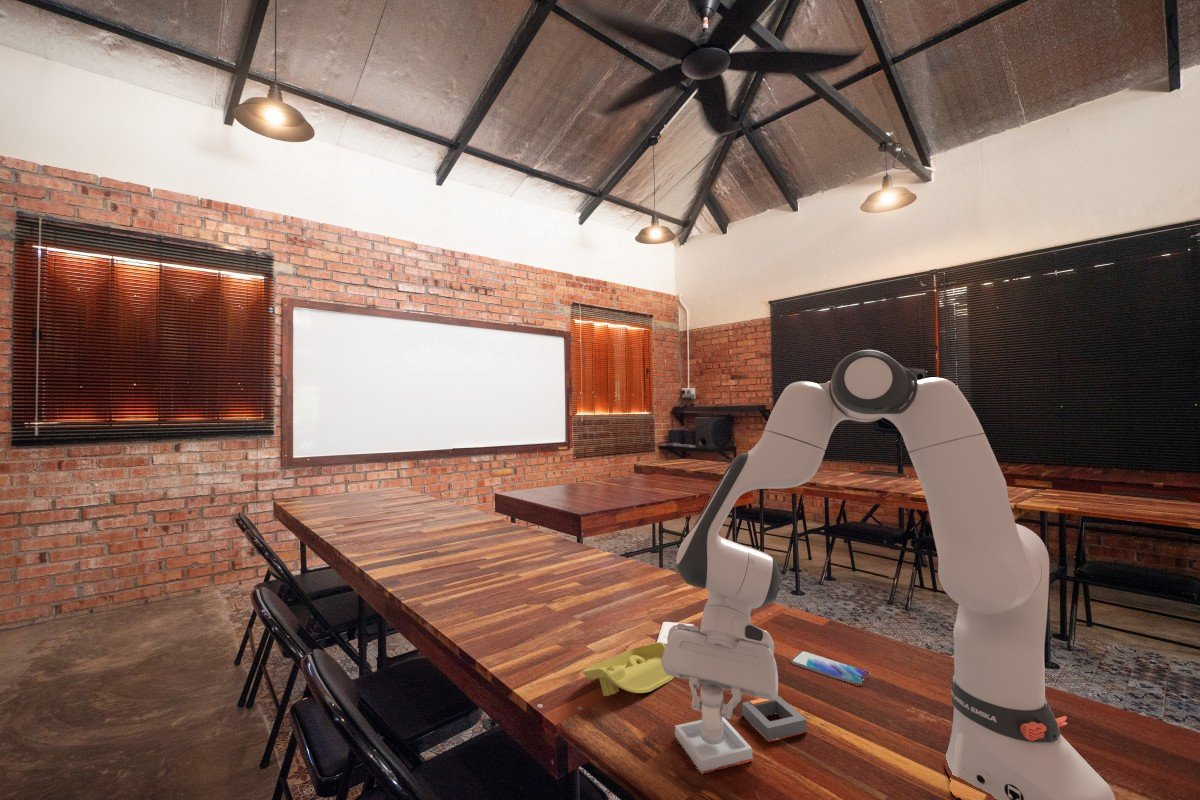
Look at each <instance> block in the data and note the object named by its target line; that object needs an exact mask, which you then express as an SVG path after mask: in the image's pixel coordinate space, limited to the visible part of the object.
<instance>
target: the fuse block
mask: <svg viewBox="0 0 1200 800" xmlns="http://www.w3.org/2000/svg"><path fill="white" fill-rule="evenodd" d="M775 713H777V714H778V715H779V716H780V717H781V718H783V719H781V718H780V717H779V716H778V715H777V714H775ZM771 714H775V715H777V716H778V717H779V719H775V720H771V721H770V720H769V719H768V718H767V716H766V717H765V715H770V716H772V715H771ZM742 715H743V716H744V717H745V718H746V719H747V720H748V721H749V722H750V723H751V724H752V725H753V726H754V727H755V728H757V729H758V730H759V731H760V732H761V733H762V734H763V735H764V736H765V737H766V739H767V740H771V739H776V738H781V737H784V736H788V735H793V734H796V733H800V732H804V731H808V729H807V728H808V726H807V724H808V723H807V718H806V717H805V716H803V715H802V714H801V713H799V711H798V710H796V709H795V708H794V707H793V706H792V705H791V704H789V703H788V702H787V701H785V700H784V699H783V698H782V697H781V696H780V695H777V697H776V698H775V699H773V700H768V699H764V698H758V699H753V700H749V701H744V702H741V716H742Z"/></svg>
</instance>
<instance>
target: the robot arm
mask: <svg viewBox="0 0 1200 800" xmlns="http://www.w3.org/2000/svg"><path fill="white" fill-rule="evenodd" d="M882 419H886V420H888V421H890V422H891V423H892V424H893V425H894V426H895V427H896V429H898V432H899V433H900V434H901V436H902V438H903V442H904V445H905V447H906V450H907V452H908V455H909V458H910V460H911V463H912V466H913V468H914V470H915V473H916V476H917V478H918V481H919V484H920V486H921V489H922V491H923V495H924V497H925V502H926V505H927V508H928V513H929V519H930V524H931V530H932V536H933V540H934V545H935V548H936V553H937V560H938V564H937V565H938V566H937V575H938V579H939V582H940V586H941V587H942V589H943V591H944V592H945V593H946V594H947V595H948V597H949V598H951V600H952V601H953V602H955V603H956V604H957V605H958V607H957V613H956V614H957V615H956V617H955V618H956V619H955V622H954V626H953V669H954V671H953V675H952V677H951V683H950V684H951V685H950V692H951V694H950V697H951V698H950V699H951V703H952V706H953V716H952V727H951V728H952V729H951V733H950V739H949V744H948V748H947V751H946V754H945V756H946V760H947V763H948V766H949V768H950V770H951V772H952V775H954V776H956V777H958V778H959V777H960V778H961V779H963V780H965V781H966V782H968V783H970V784H972V785H973V786H975V787H977V788H980V789H982V790H983V791H985V792H987V793H989V794H991V795H992V796H993V797H994V798H995V799H997V800H1116V797H1115V794H1114V792H1113V790H1112V788H1111V786H1110V785H1109V784H1108V783H1107V782H1106V781H1105V780H1104V779H1103V778H1102V776H1101V775H1099V773H1098V772H1097V771H1095V770H1094V768H1093V767H1092V766H1091V765H1090V764H1089V763H1088V762H1087V761H1086V760H1085V759H1084V758H1083V757H1082V756H1081V755H1080V753H1079V752H1078V751H1077V750H1076V749H1075V747H1073V746H1072V745H1071V744H1070V743H1069V741H1068V740H1067V739H1065V737H1063V735H1062V734H1061V730H1060V728H1061V727H1064V726H1067V725H1068V722H1066V721H1067V719H1068V717H1067V716H1065V715H1063V716H1061V717H1057V718H1056V717H1055V715H1054V713H1053V710H1052V708H1051V705H1050V704H1049V701H1048V700H1047V699H1046V685H1045V684H1046V678H1045V677H1046V675H1045V673H1046V671H1045V643H1046V633H1047V632H1046V631H1047V620H1048V607H1049V606H1048V605H1049V591H1050V590H1049V588H1050V587H1049V586H1050V585H1049V584H1050V555H1049V552H1048V550H1047V547H1046V545H1045V543H1044V542H1043V540H1042V539H1041V537H1039V535H1038V534H1037V533H1035V532H1034V531H1032V529H1030V528H1028V527H1026V526H1024V525H1021V524H1019V523H1016V520H1015V518H1014V514H1013V511H1012V510H1013V509H1012V506H1011V503H1010V502H1011V501H1010V499H1009V498H1010V497H1009V494H1008V488H1007V486H1008V485H1007V482H1006V478H1005V477H1004V474H1003V472H1002V470H1001V467H1000V465H999V461H997V458H996V456H995V453H994V451H993V449H992V447H991V444H990V443H989V440H988V438H987V436H986V433H985V431H984V429H983V426H982V425H981V423H980V420H979V418H978V416H977V414H976V412H975V411H974V409H973V407H972V406H971V404H970V403H969V401H968V399H967V398H966V397H965V395H964V394H963V393H962V391H961V390H960V389H959V387H958V385H956V383H954V382H953V381H951V380H949V379H946V378H943V377H926V378H921V379H918V378H917V375H915V374H914V373H913V372H911V371H910V370H909V369H907V368H906V367H905V366H903V365H902V364H901V363H899V362H898V361H897V360H896V359H894V358H893V357H891V356H890V355H889V354H886V353H884V352H881V351H880V350H874V349H865V350H864V349H863V350H859V351H856V352H855V351H854V352H853V353H850V354H848V355H847V356H845V357H844V358H842V359H841V360H840V361H839V362H838V364H837V365H836V366H835V368H834V369H833V373H832V375H831V379H830V380H829V381H827V382H825V383H824V382H823V383H816V382H812V381H806V380H805V381H802V380H801V381H795V382H792V383H790V384H788V385H787V386H786V387H785V388H784V389H783V391H782V392H781V394H780V396H779V398H778V399H777V401H776V403H775V405H774V406H773V409H772V411H771V413H770V414H769V418H768V420H767V422H766V424H765V428H764V431H763V433H762V434H761V435H762V436H761V437H760V439H759V440H758V442H757V443H756V444H755V445H754V446H753V448H751V449H750V450H749V451H747V452H740V453H739V454H737V455H736V456H735V458H733V460H732V461H731V463H730V464H729V465H728V467H727V469H726V470H725V471H724V473H723V475H722V477H721V478H720V479H719V481H718V483H717V485H716V487H715V488H714V490H713V492H712V494H711V496H710V497H709V499H708V500H707V503H706V505H705V506H704V508H703V510H702V511H701V513H700V515H699V516H698V519H697V520H696V521H695V523H694V525H693V526H692V528H691V529H690V531H689V532H688V534H687V535H686V536H685V538H684V539H683V540H682V542H681V544H680V546H679V548H678V551H677V553H676V561H675V566H676V569H677V571H678V573H679V575H680V577H681V578H682V579H683V581H684V582H685V584H687V585H690V586H693V587H697V588H701V589H707V593H708V595H707V601H706V603H705V605H704V608H703V611H702V617H701V622H700V626H695V625H694V626H688V625H685V624H686V623H684V624H678V625H675V626H673V627H671V628H670V630H669V633H668V638H667V642H668V643H667V645H666V648H665V650H664V653H663V657H662V660H661V665H662V667H663V669H664V671H665V672H666V674H668V675H670V676H674V678H678V679H683V680H687V681H688V685H689V689H690V692H691V695H692V699H691V704H690V705H691V706H690V707H691V709H692V710H695V711H697V712H702V703H701V701H700V696H699V695H698V693H697V689H698V690H700V687H701V686H700V685H701V684H703V685H704V684H715V685H718V686H720V687H721V688H722V689H723V690H727V691H730V692H731V695H732V697H731V699H730V700H729V701H728V703H724V702H723V705H722V710H721V716H722V717H724V718H725V719H726V720H727V719H728V720H732V718H733V711H734V710H733V709H735V708H736V707H737V705H739V703H740V702H741V701H742V697H743V696H742V695H743V694H745V695H748V696H752V697H756V698H758V699H761V698H764V699H768V700H773V699H775V698H776V697H777V695H778V693H779V672H778V666H777V661H776V659H775V656H774V654H775V644H774V640H773V638H772V637H771V634H770V633H769V632H768V631H767V630H764V629H763V628H760V627H758V626H756V625H755V624H753V623H752V619H751V612H752V609H755V610H757V609H760V608H763V607H766V606H768V605H770V604H772V603H774V601H775V600H776V599H777V596H778V595H779V589H780V582H781V571H780V568H779V566H778V564H777V561H776V560H775V558H774V557H773V556H771V555H770V554H769V553H765V552H764V551H761V550H758V549H755V548H754V547H751V546H750V547H749V546H747V545H743V544H741V543H737V542H734V541H733V540H729V539H727V538H724V537H722V536H720V534H719V532H720V529H721V528H722V527H723V524H724V522H725V521H726V520H727V517H728V516H729V514H730V512H731V510H732V509H733V507H734V506H735V504H736V503H737V500H738V499H739V498H740V496H742V495H743V494H745V493H748V492H751V491H754V490H760V489H761V490H762V489H763V490H764V489H773V490H774V489H790V488H796V487H798V486H801V485H804V484H806V483H807V482H809V481H810V480H812V479H813V478H814V476H815V475H816V473H817V472H818V470H819V468H820V466H821V464H822V461H823V458H824V456H825V452H826V450H827V447H828V445H829V442H830V438H831V436H832V433H833V431H834V430H835V428H836V426H837V425H838V424H853V425H854V424H855V425H858V424H859V425H863V424H865V425H866V424H871V423H876V422H878V421H880V420H882ZM676 627H677V628H676Z"/></svg>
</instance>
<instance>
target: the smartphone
mask: <svg viewBox="0 0 1200 800" xmlns="http://www.w3.org/2000/svg"><path fill="white" fill-rule="evenodd" d="M790 664H791V665H794V666H797V667H800V668H803V669H806V670H809V671H811V672H813V673H818V674H821V675H823V676H826V675H827V676H826V677H829V678H833V679H835V680H838V679H839V680H838V681H841V680H842V681H841V682H844V681H848V682H851V683H852V682H853V683H856V684H857V683H858V684H862V681H863V680H864V679H865V678H863V679H862V680H861V677H862V676H863V675H864V676H865V675H867V676H868V674H870V675H871V672H870V671H868V670H865V669H861V668H858V667H856V666H853V665H848V664H846V663H844V662H839V661H836V660H833V659H830V658H827V657H825V656H821V655H817V654H815V653H811V652H808V651H806V650H805V651H804V650H801V651H800V652H799V653H797V654H796V655H795V656H794V657H792V659H790ZM864 670H865V671H864ZM861 671H864V672H861ZM865 672H866V673H867V674H863V673H865ZM861 674H863V675H861Z"/></svg>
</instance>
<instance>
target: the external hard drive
mask: <svg viewBox="0 0 1200 800" xmlns="http://www.w3.org/2000/svg"><path fill="white" fill-rule="evenodd" d="M678 624H685V625H688V626H695V625H694V624H693V623H683V622H672V621H663V622H662V624H661V628H660V630H659V633H658V638H657V640H656V643H658V642H662V643H664V645H665V646H666V645H667V643H668V642H667V638H668V633H669V630H670V628H671V627H673V626H675V625H678ZM676 628H677V627H676Z"/></svg>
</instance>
